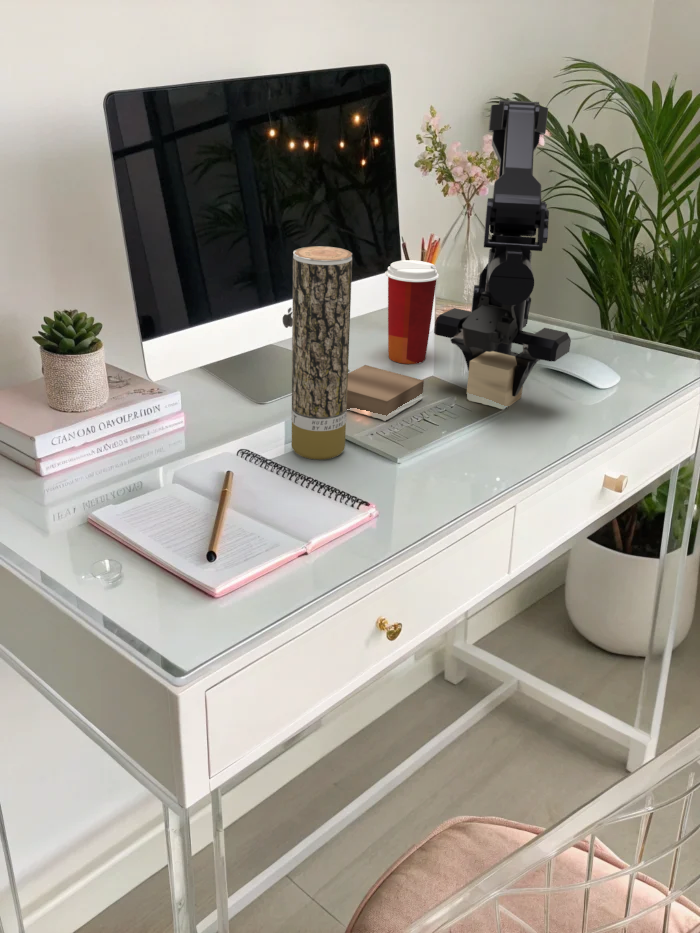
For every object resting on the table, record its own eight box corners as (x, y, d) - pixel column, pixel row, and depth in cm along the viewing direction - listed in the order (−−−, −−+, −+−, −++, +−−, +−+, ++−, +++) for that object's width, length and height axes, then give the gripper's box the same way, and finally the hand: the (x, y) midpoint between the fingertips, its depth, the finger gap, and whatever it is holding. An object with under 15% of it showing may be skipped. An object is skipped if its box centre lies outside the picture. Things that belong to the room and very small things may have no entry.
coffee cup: (432, 351, 152) (440, 261, 145) (431, 368, 145) (439, 274, 138) (382, 347, 152) (387, 257, 146) (378, 364, 145) (383, 270, 138)
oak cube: (484, 388, 138) (488, 350, 135) (521, 397, 135) (526, 359, 132) (465, 400, 133) (469, 361, 131) (503, 410, 130) (508, 370, 128)
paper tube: (352, 444, 118) (360, 250, 107) (334, 466, 112) (340, 263, 101) (303, 435, 120) (306, 243, 109) (282, 456, 114) (283, 256, 103)
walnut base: (364, 383, 137) (365, 364, 136) (422, 399, 133) (423, 380, 131) (325, 403, 130) (326, 384, 129) (385, 421, 125) (387, 401, 124)
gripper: (418, 284, 125) (411, 391, 132) (546, 311, 116) (531, 424, 123) (457, 268, 133) (448, 370, 140) (579, 292, 124) (563, 399, 131)
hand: (494, 390), depth 133 cm, fingers closed on oak cube, 6 cm apart
